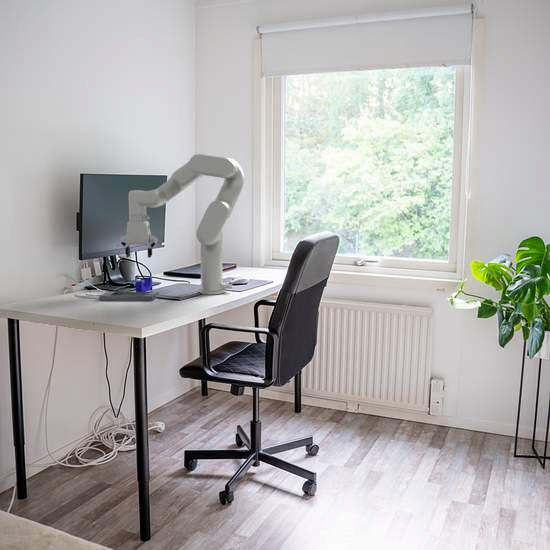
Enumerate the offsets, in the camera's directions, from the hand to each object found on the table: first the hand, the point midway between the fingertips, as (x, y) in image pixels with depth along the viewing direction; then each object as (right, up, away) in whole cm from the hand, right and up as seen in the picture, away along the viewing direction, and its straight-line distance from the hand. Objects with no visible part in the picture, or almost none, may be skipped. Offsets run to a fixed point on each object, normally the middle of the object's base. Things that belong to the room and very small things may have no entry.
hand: (138, 256), depth 286 cm
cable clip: (+1, -16, +3) cm, 16 cm away
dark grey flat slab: (-2, -18, -11) cm, 21 cm away
